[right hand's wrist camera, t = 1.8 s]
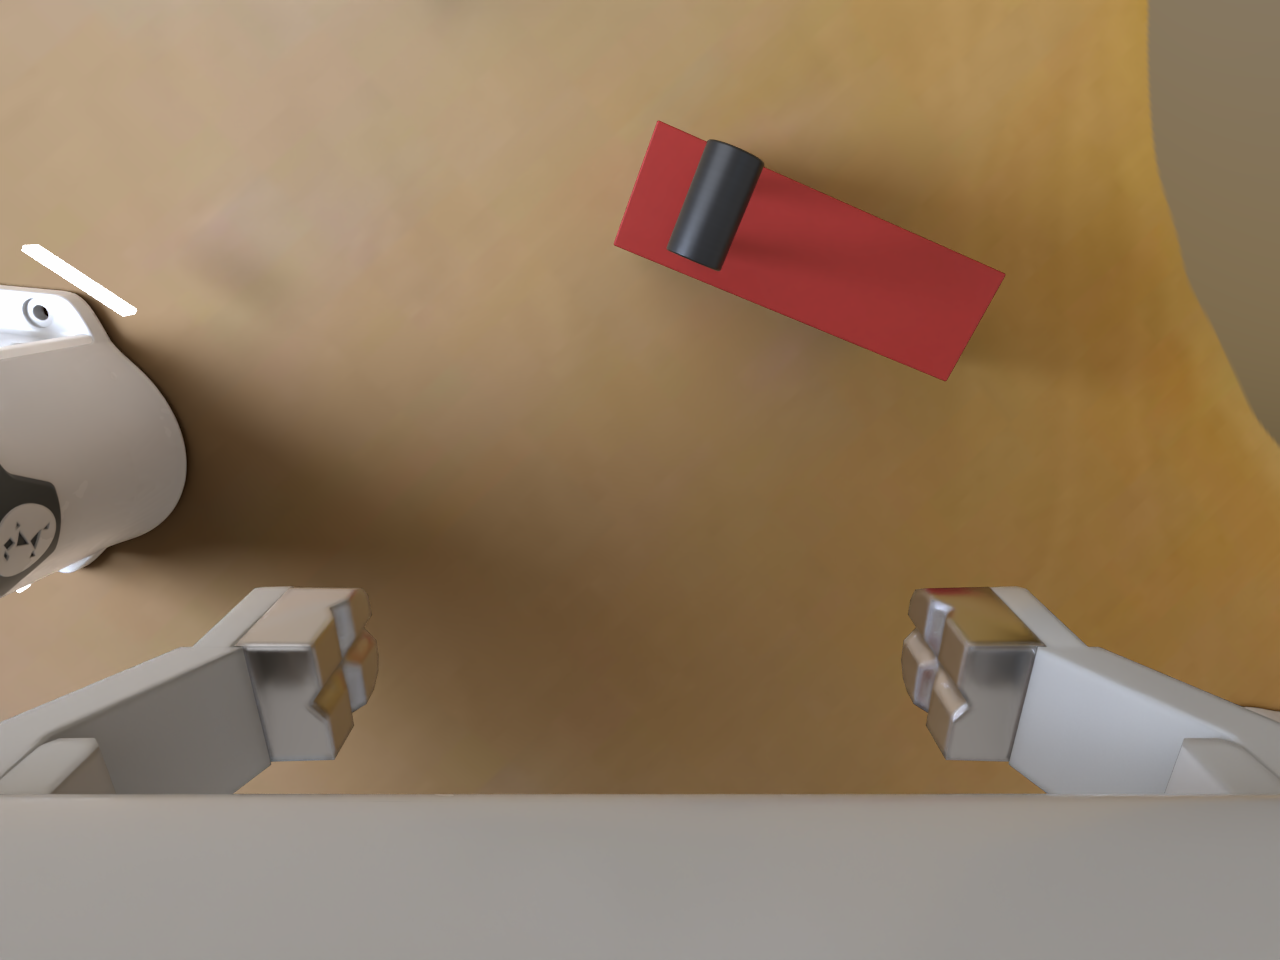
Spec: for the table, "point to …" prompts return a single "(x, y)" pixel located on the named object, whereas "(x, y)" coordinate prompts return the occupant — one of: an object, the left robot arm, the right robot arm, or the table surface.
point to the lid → (803, 252)
